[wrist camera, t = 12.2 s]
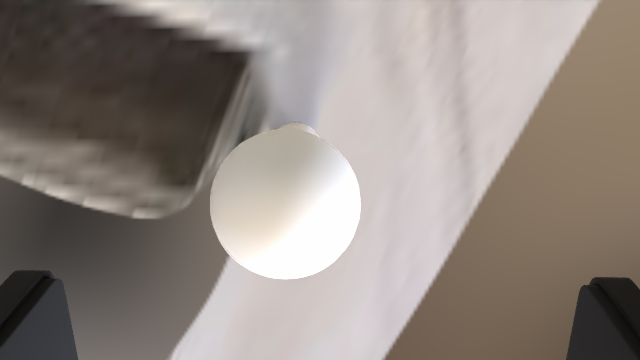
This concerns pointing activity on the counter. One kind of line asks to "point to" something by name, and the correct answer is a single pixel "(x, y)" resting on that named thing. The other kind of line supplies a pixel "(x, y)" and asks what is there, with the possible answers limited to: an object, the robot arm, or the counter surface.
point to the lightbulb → (285, 203)
